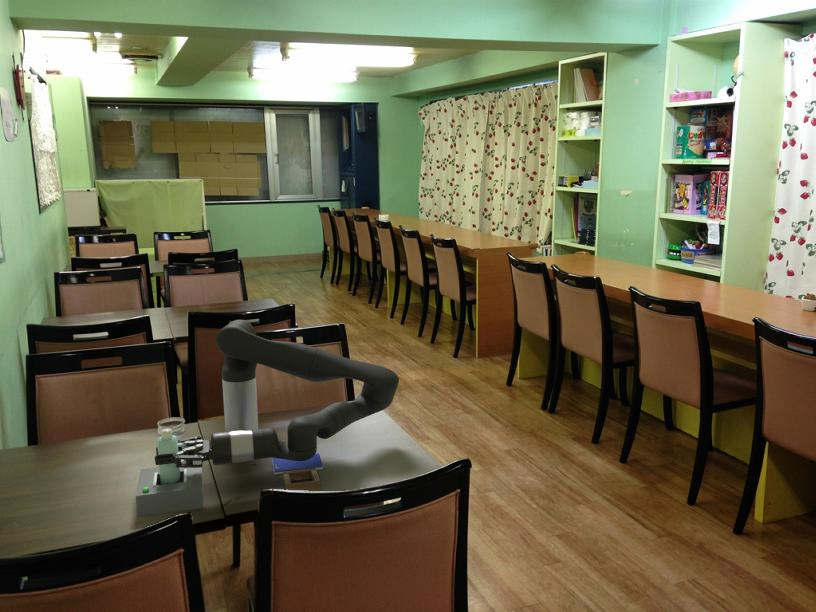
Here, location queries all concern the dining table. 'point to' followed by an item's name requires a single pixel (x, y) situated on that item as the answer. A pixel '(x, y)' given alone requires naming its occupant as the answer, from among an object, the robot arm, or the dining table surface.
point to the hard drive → (296, 464)
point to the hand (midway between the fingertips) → (156, 455)
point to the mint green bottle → (167, 446)
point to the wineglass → (172, 426)
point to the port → (169, 492)
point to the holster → (300, 475)
